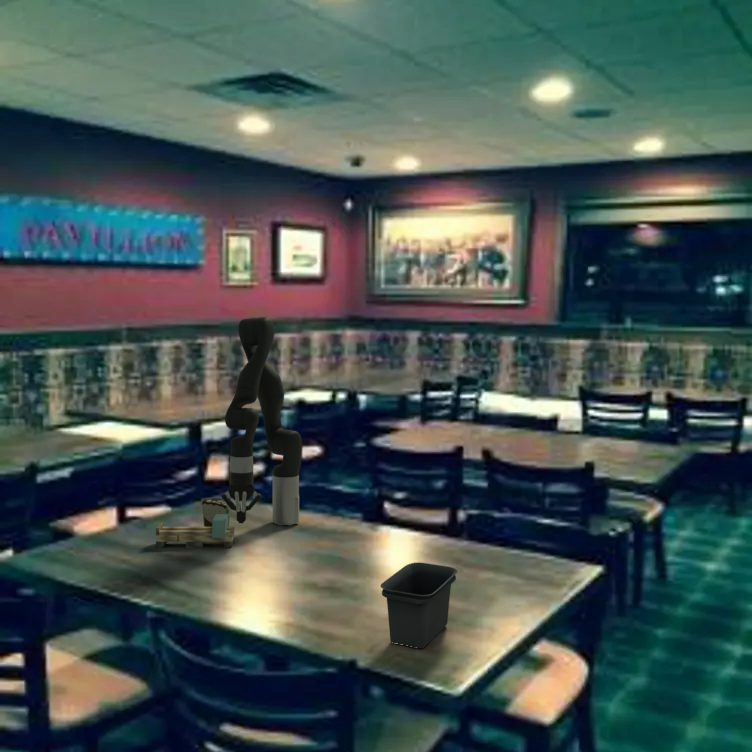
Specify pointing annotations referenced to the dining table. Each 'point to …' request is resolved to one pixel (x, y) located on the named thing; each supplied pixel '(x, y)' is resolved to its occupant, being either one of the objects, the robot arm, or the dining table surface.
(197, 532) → the beam
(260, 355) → the robot arm
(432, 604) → the storage bin
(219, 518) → the rider
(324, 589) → the dining table surface
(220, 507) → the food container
